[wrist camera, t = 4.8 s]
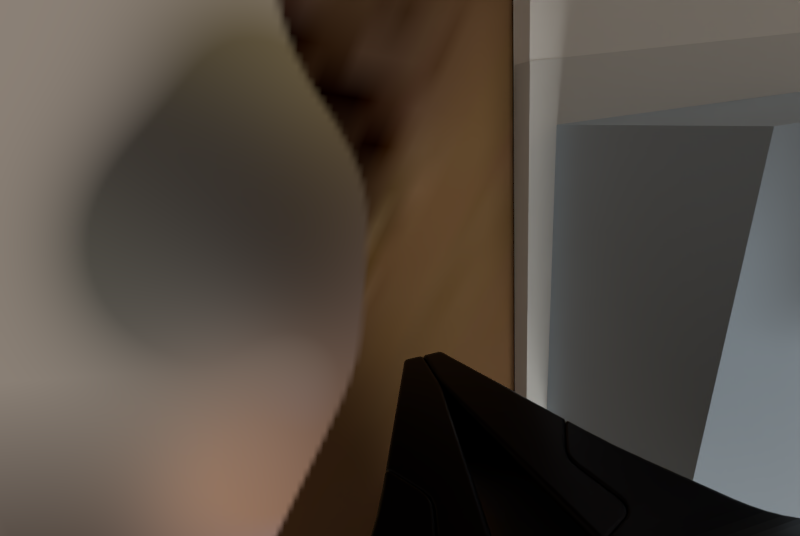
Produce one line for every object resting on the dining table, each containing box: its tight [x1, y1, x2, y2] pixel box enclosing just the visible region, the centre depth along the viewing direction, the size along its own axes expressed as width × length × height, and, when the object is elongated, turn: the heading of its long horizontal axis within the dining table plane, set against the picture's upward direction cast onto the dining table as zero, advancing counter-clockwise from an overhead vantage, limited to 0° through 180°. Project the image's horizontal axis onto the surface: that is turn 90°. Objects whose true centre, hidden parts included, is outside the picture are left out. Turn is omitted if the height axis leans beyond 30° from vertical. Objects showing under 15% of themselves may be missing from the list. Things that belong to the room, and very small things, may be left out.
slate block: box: [547, 92, 800, 518], centre depth 10 cm, size 10×10×5 cm
